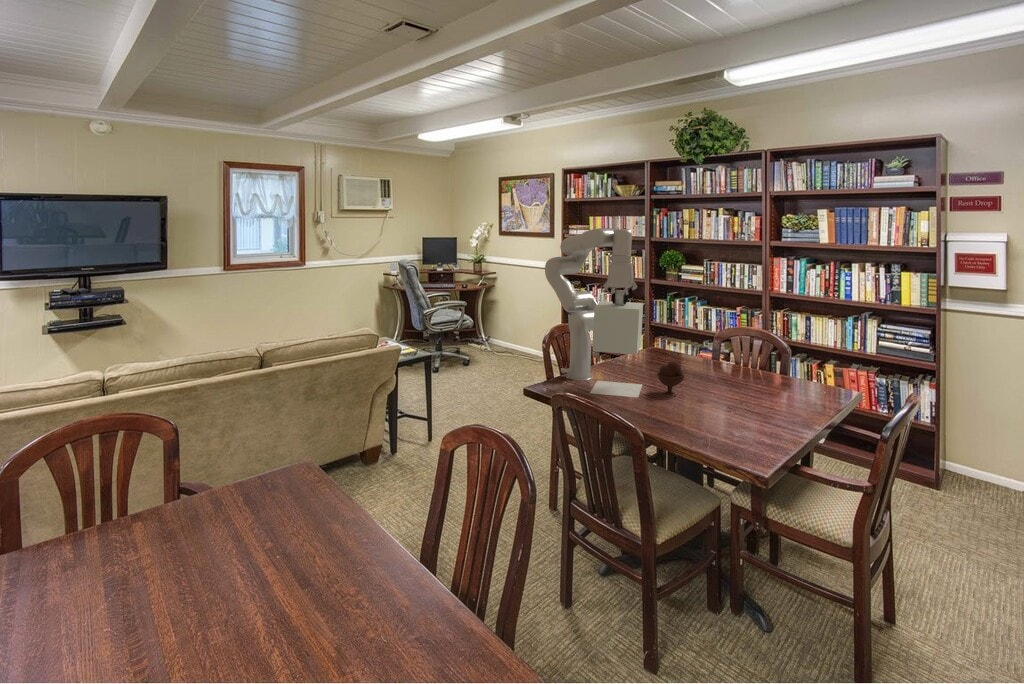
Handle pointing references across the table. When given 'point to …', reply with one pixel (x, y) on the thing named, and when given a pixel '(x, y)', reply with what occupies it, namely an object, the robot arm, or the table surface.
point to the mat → (617, 389)
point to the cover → (617, 326)
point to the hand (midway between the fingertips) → (619, 303)
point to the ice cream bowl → (670, 375)
